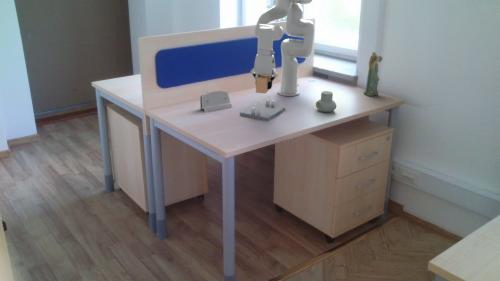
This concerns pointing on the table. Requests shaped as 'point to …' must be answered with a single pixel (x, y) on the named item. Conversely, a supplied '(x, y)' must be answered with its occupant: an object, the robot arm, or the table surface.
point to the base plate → (263, 110)
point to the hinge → (214, 101)
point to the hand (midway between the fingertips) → (263, 87)
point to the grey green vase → (326, 102)
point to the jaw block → (262, 84)
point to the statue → (372, 75)
